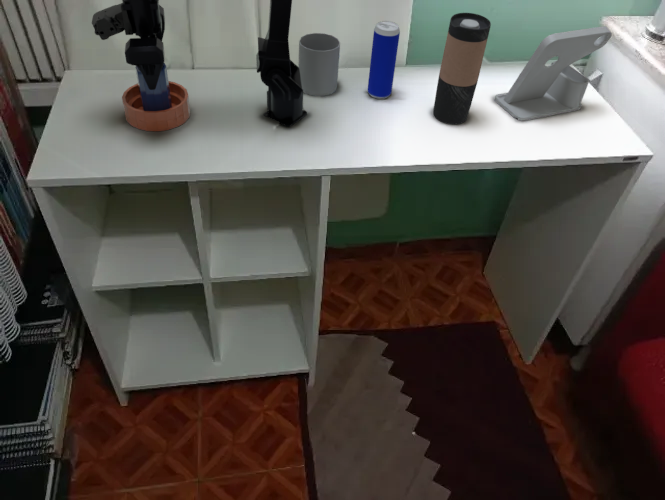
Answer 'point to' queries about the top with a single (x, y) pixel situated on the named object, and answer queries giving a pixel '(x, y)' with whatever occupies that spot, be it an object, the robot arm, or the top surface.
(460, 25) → the travel mug
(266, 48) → the robot arm
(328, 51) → the cup
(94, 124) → the top surface
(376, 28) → the beverage can
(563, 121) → the top surface
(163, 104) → the tumbler
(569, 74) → the phone holder
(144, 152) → the top surface
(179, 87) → the bowl
